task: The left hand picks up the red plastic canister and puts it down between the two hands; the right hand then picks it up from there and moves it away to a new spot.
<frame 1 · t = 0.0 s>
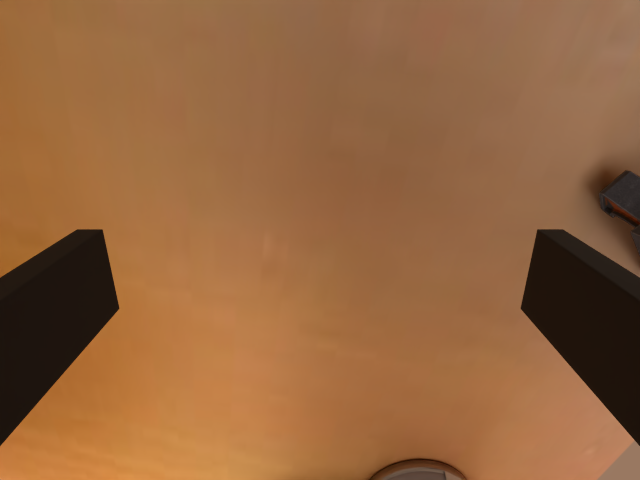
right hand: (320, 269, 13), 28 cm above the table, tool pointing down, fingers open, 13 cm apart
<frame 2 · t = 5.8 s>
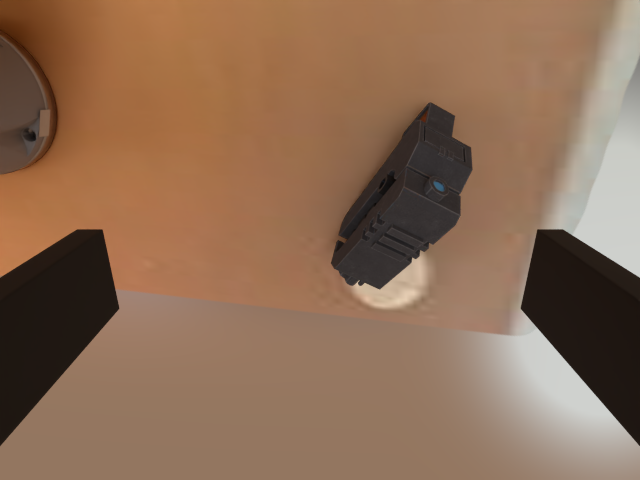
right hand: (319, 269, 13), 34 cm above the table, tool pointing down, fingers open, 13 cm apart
tool: (384, 191, 47), on the table
when the left hand's fingers open (4 cm above the table, at t = 19.1 s): canister drops 1 cm, on the table.
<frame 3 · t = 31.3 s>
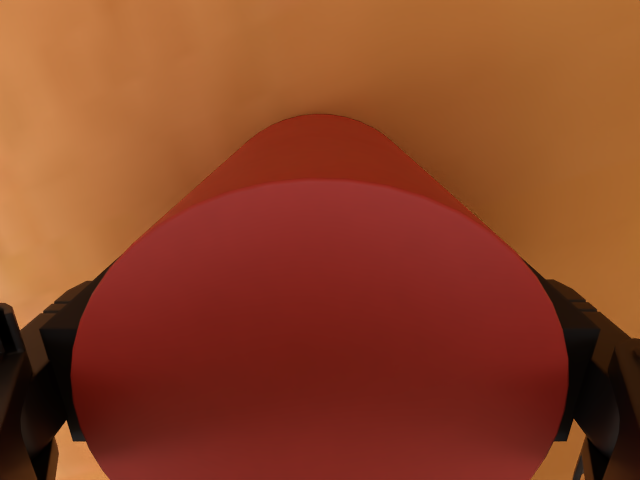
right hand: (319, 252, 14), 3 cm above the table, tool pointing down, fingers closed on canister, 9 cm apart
canister: (319, 222, 17), on the table, touching right hand
when the right hand's fingers open (4 cm above the table, at t = 38.6 s): canister drops 1 cm, on the table.
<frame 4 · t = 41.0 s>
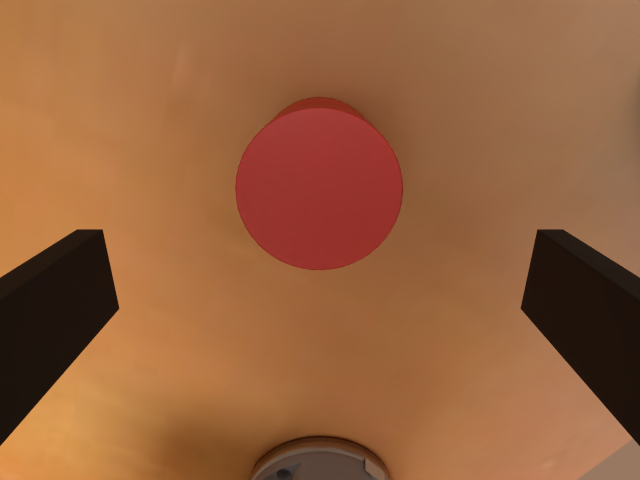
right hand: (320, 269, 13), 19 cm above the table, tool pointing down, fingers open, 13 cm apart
canister: (319, 157, 30), on the table
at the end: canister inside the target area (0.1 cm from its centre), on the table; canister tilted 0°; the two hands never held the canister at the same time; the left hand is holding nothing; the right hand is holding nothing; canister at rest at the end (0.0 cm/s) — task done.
